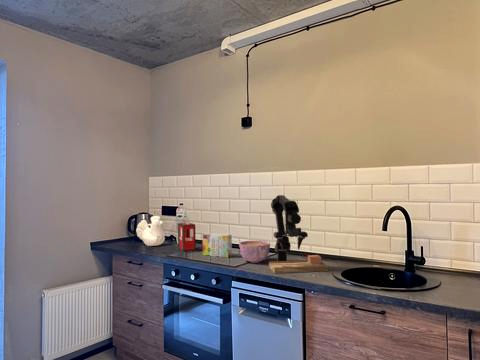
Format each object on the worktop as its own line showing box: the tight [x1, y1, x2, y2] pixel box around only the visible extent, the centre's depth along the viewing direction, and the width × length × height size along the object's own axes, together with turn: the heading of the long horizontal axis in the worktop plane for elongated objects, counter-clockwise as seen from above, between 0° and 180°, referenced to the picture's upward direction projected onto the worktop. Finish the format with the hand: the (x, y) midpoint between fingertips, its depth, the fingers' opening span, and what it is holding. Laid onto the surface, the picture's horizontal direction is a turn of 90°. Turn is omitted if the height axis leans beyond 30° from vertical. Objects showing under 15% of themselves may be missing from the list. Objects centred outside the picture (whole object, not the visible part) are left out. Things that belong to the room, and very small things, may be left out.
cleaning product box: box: [177, 222, 197, 253], centre depth 252 cm, size 16×9×20 cm, turn 25°
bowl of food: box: [238, 240, 271, 264], centre depth 210 cm, size 20×20×12 cm
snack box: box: [202, 232, 233, 259], centre depth 229 cm, size 21×6×15 cm, turn 59°
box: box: [268, 259, 329, 274], centre depth 189 cm, size 16×30×3 cm, turn 96°
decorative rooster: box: [135, 215, 166, 247], centre depth 277 cm, size 25×16×25 cm, turn 61°
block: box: [307, 254, 322, 265], centre depth 193 cm, size 6×6×4 cm
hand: (290, 249), depth 192 cm, fingers open, 9 cm apart
